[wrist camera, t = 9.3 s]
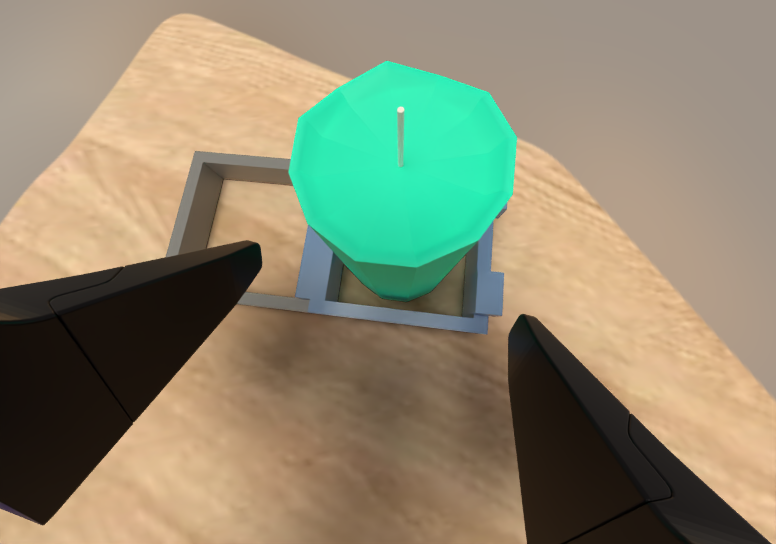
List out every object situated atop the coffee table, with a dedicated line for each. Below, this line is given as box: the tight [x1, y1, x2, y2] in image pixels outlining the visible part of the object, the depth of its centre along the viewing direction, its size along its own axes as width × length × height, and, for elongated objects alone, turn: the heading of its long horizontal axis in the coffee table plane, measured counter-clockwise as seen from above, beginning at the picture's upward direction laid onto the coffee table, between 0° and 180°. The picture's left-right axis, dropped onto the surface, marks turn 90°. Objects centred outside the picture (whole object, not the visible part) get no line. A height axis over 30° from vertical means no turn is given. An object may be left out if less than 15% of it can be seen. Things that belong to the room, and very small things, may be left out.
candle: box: [288, 61, 517, 302], centre depth 12 cm, size 6×6×12 cm
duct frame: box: [166, 151, 507, 334], centre depth 16 cm, size 18×9×4 cm, turn 83°
